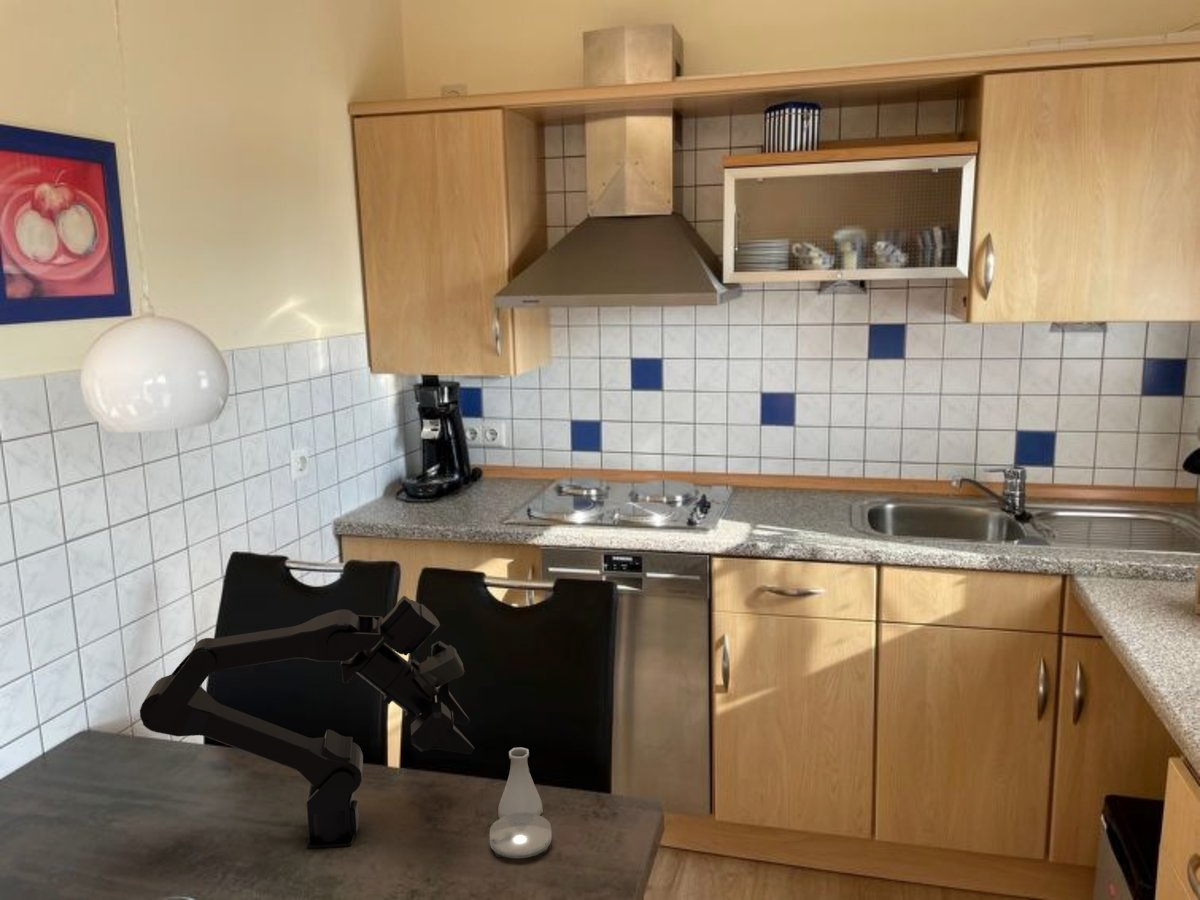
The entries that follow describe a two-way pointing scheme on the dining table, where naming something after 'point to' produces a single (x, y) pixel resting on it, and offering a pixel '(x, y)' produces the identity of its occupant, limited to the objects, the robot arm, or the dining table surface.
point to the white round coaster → (520, 835)
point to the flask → (519, 787)
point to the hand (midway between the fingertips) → (469, 736)
